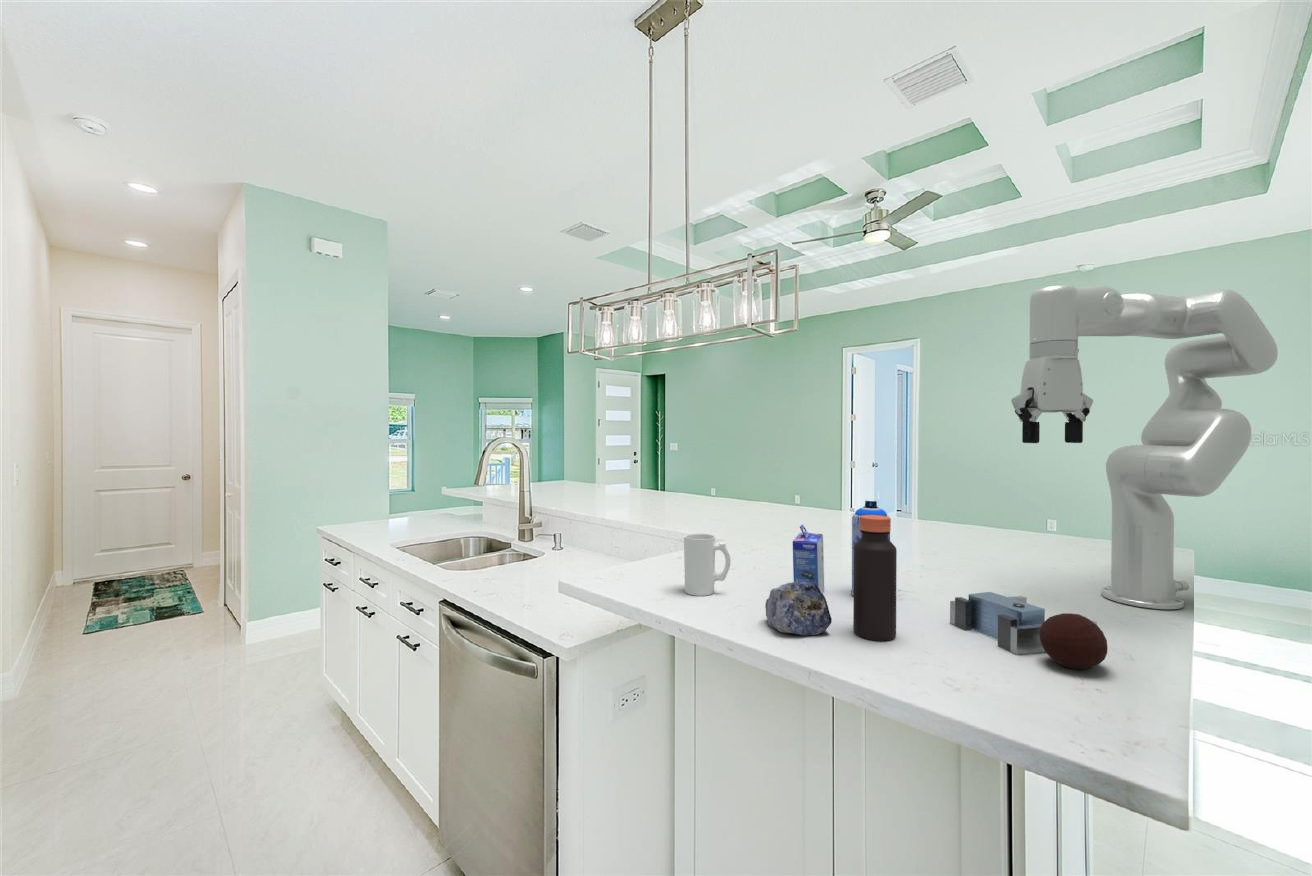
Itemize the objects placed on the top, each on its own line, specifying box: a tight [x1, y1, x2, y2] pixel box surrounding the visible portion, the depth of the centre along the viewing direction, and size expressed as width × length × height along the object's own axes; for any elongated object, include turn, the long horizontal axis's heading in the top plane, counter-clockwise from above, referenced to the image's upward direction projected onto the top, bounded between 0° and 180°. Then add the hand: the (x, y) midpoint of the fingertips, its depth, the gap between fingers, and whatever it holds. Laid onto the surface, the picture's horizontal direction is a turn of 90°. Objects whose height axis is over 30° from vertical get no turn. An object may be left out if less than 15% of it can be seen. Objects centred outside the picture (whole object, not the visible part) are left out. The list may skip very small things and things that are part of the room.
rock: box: [764, 581, 833, 637], centre depth 98 cm, size 11×10×10 cm
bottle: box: [852, 515, 898, 642], centre depth 94 cm, size 7×7×20 cm
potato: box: [1039, 612, 1109, 670], centre depth 81 cm, size 8×9×8 cm
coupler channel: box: [949, 595, 1098, 656], centre depth 94 cm, size 15×14×5 cm
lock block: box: [968, 591, 1046, 639], centre depth 94 cm, size 5×10×6 cm, turn 18°
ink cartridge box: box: [792, 523, 825, 594], centre depth 118 cm, size 10×6×14 cm, turn 157°
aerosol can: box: [850, 500, 891, 598], centre depth 116 cm, size 8×8×20 cm
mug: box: [683, 533, 732, 597], centre depth 119 cm, size 10×7×12 cm, turn 72°
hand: (1052, 442), depth 106 cm, fingers open, 9 cm apart
